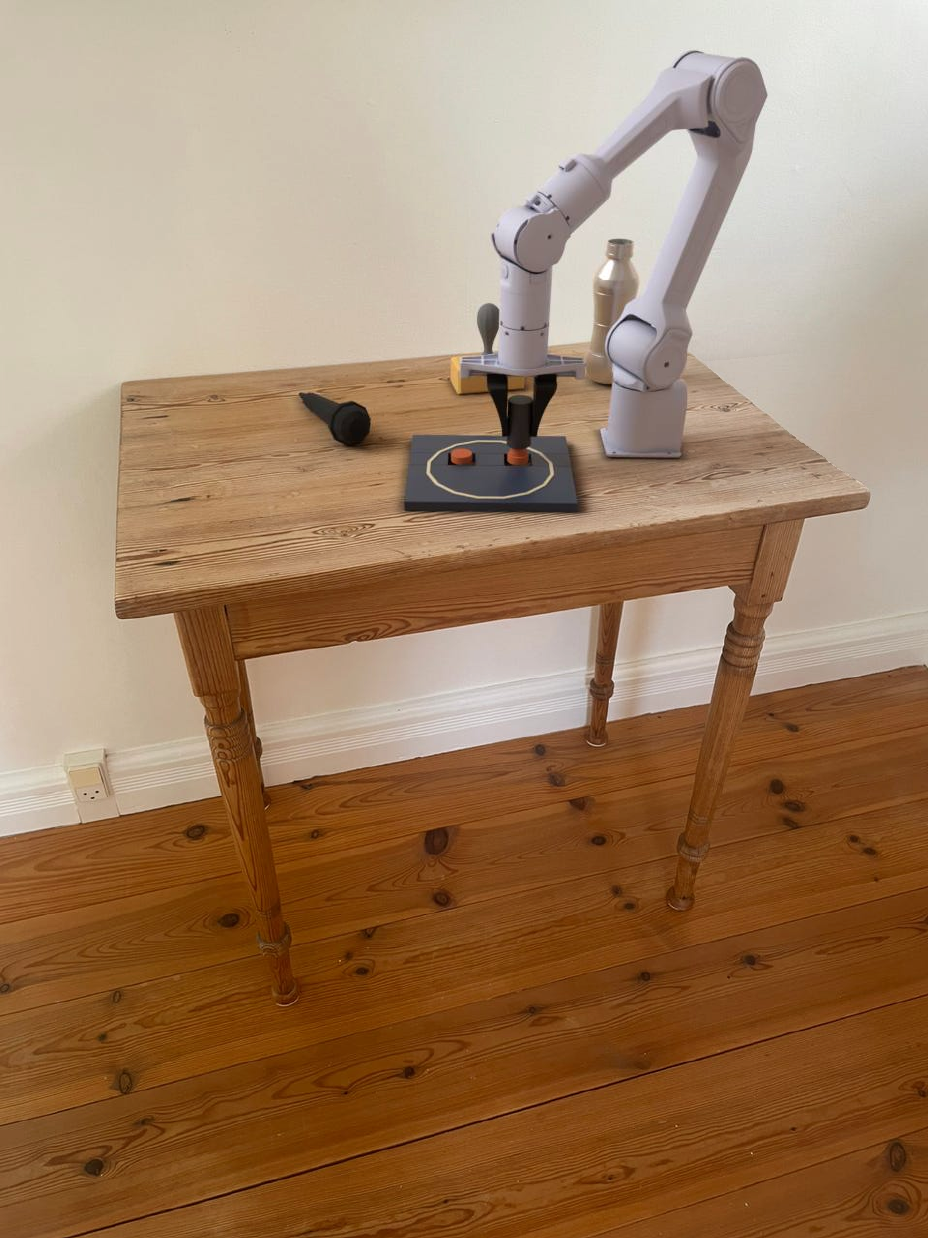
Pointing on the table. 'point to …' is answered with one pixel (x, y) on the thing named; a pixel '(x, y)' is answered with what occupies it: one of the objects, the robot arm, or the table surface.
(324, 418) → the microphone
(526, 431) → the marker
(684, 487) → the table surface
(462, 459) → the eye
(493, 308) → the rubber stamp
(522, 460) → the eye
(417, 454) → the face board
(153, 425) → the table surface
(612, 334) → the robot arm
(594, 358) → the plastic bottle
